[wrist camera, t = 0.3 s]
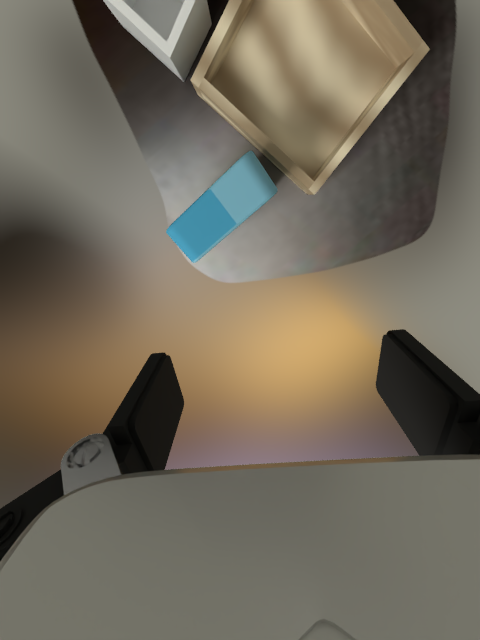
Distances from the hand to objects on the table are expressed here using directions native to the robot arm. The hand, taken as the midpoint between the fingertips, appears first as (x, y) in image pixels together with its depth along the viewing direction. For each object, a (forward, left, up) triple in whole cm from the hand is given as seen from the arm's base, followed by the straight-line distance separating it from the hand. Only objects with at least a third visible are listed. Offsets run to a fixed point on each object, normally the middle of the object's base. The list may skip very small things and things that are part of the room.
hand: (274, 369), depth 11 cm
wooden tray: (-18, -8, -30) cm, 36 cm away
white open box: (-13, -23, -30) cm, 40 cm away
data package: (-2, -7, -30) cm, 31 cm away
